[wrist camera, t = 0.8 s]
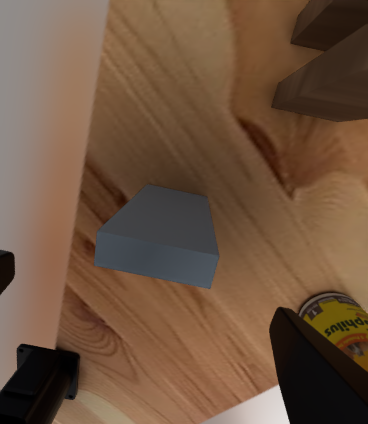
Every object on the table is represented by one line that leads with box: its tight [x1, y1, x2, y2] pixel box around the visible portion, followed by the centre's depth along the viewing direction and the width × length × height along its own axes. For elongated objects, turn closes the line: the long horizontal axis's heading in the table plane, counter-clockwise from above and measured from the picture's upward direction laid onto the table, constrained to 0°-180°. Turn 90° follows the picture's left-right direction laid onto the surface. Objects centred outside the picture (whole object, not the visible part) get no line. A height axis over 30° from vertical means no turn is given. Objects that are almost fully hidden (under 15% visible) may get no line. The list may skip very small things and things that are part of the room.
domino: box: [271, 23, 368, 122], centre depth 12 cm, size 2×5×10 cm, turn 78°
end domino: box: [94, 184, 219, 289], centre depth 14 cm, size 2×5×10 cm, turn 78°
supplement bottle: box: [299, 293, 368, 372], centre depth 17 cm, size 6×6×10 cm
